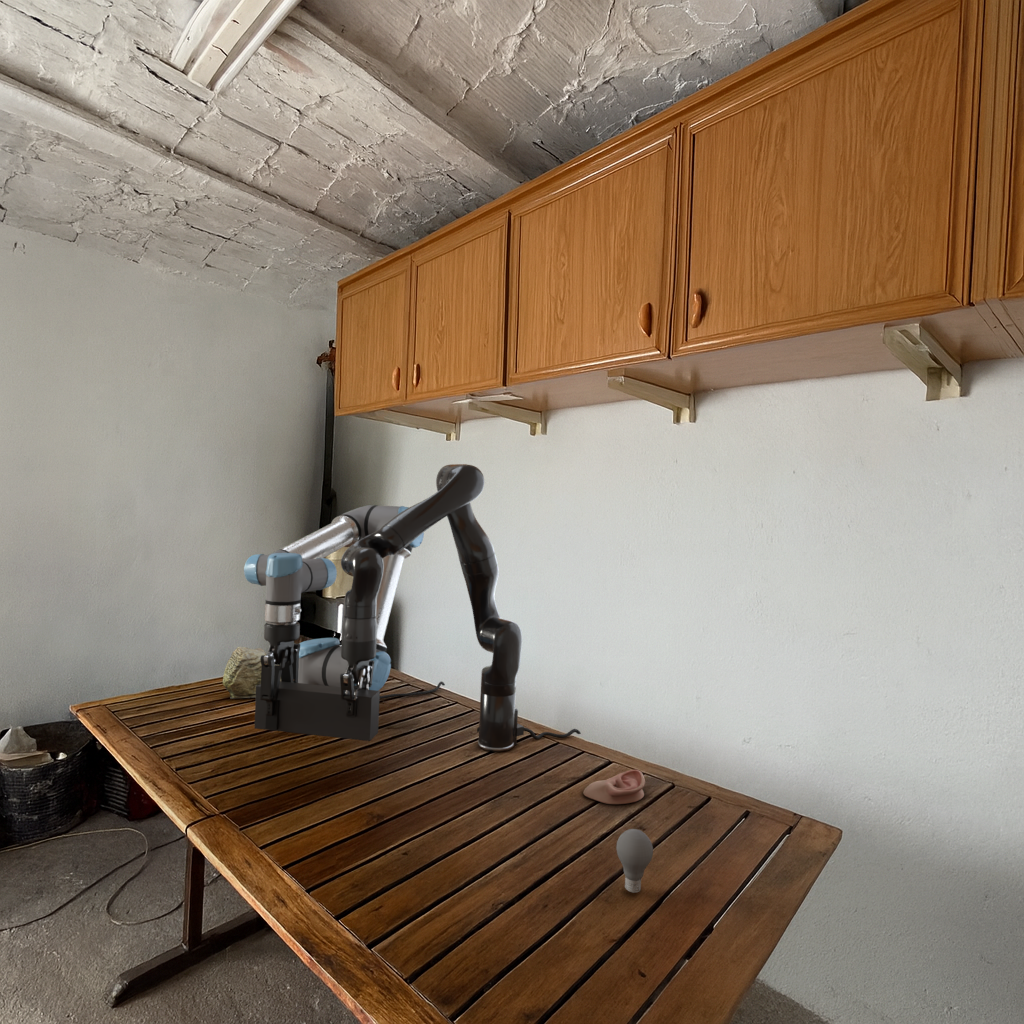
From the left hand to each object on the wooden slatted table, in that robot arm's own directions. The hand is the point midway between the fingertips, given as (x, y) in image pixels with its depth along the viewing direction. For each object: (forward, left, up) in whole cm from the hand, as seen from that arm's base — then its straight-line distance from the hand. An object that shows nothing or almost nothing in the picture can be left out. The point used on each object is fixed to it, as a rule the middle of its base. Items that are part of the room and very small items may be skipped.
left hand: (278, 724), depth 143 cm
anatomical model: (-46, +61, -11) cm, 77 cm away
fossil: (-26, -56, -11) cm, 62 cm away
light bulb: (-16, +81, -11) cm, 83 cm away
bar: (-4, +8, -1) cm, 9 cm away
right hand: (-9, +16, +4) cm, 19 cm away
